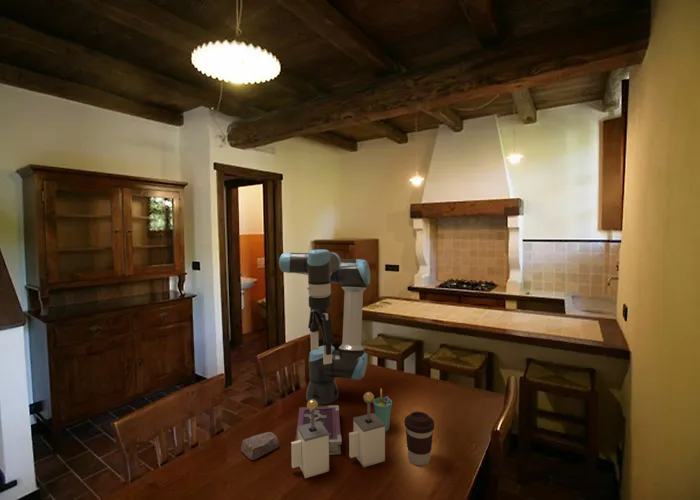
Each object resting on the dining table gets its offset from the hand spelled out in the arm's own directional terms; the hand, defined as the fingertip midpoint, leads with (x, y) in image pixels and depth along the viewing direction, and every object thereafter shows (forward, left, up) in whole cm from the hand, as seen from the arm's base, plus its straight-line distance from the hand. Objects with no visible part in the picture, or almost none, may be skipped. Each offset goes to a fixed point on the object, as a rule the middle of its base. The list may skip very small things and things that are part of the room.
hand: (320, 356), depth 122 cm
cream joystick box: (+6, -7, -35) cm, 36 cm away
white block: (+9, +12, -35) cm, 38 cm away
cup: (-4, +27, -35) cm, 44 cm away
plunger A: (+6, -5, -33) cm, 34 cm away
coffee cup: (+17, +29, -35) cm, 48 cm away
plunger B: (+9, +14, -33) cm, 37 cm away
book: (-11, +3, -35) cm, 37 cm away
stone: (-11, -19, -35) cm, 42 cm away
